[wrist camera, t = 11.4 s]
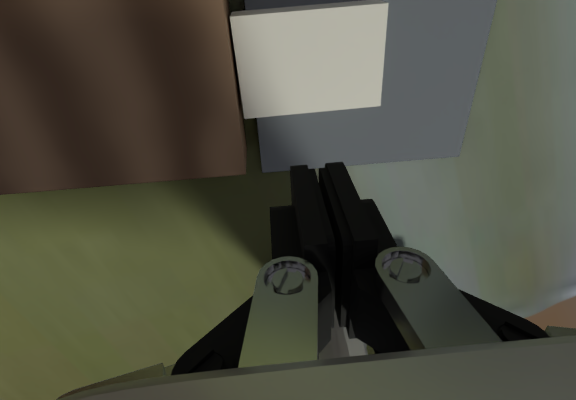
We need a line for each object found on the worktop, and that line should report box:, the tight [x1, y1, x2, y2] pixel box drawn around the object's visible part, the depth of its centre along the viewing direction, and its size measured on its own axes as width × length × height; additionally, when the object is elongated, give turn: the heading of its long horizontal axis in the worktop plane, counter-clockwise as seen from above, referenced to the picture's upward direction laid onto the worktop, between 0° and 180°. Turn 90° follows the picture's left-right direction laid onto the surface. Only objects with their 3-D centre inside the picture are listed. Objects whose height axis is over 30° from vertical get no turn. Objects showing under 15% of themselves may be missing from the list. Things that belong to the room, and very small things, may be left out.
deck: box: [0, 0, 247, 195], centre depth 22 cm, size 20×12×4 cm, turn 93°
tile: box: [230, 0, 389, 119], centre depth 23 cm, size 9×6×2 cm, turn 94°
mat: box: [244, 0, 497, 173], centre depth 25 cm, size 16×14×1 cm
